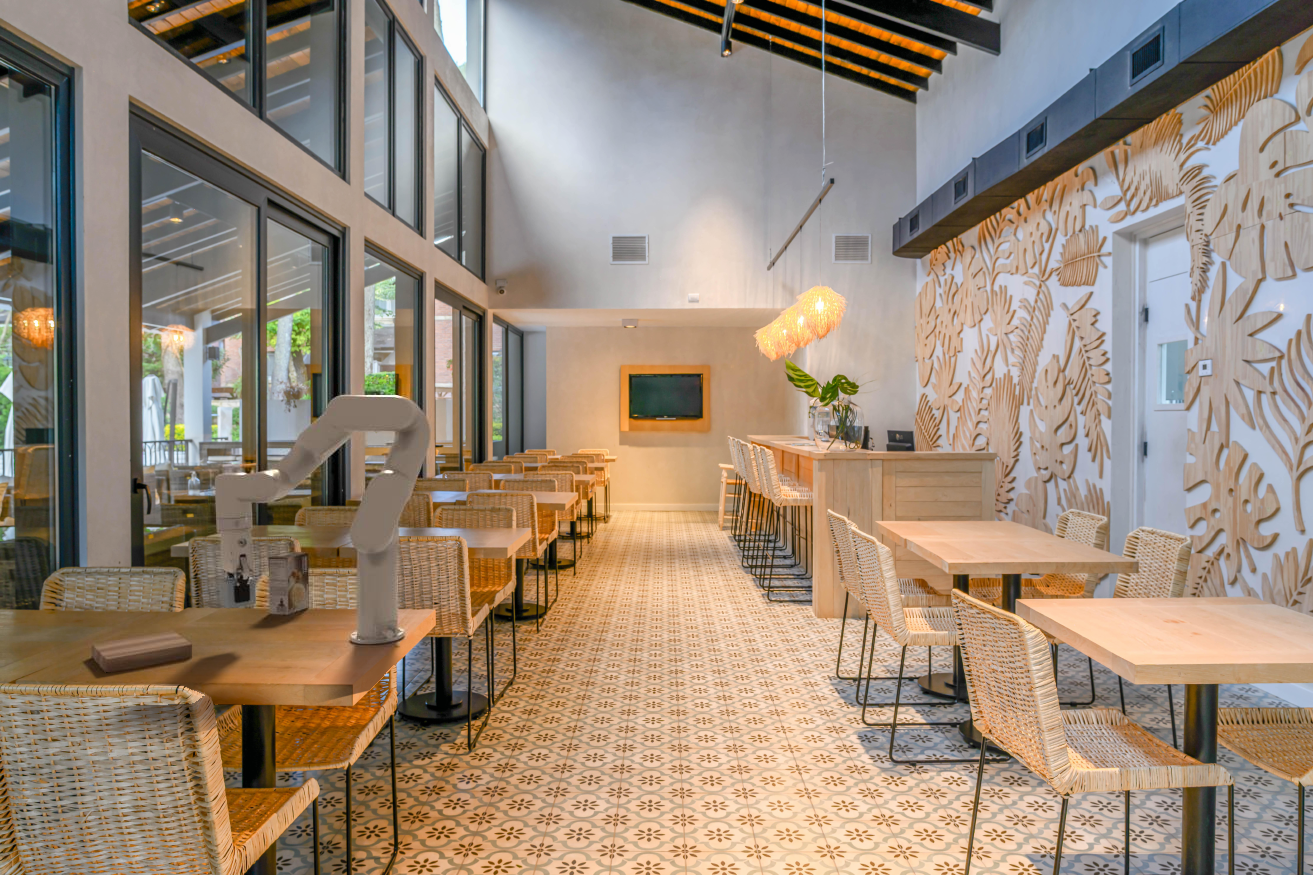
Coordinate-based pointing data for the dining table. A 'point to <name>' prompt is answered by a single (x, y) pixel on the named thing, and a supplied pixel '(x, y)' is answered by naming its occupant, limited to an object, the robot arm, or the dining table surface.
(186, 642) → the walnut base
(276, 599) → the coffee box
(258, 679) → the dining table surface
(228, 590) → the light grey cube
